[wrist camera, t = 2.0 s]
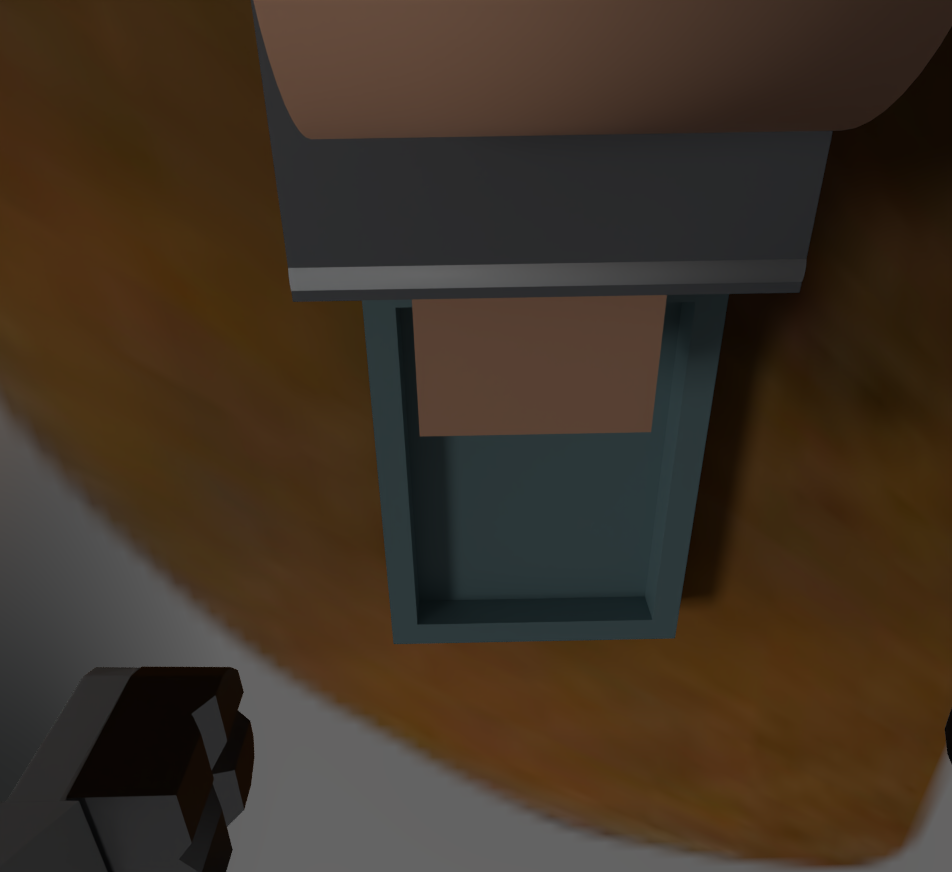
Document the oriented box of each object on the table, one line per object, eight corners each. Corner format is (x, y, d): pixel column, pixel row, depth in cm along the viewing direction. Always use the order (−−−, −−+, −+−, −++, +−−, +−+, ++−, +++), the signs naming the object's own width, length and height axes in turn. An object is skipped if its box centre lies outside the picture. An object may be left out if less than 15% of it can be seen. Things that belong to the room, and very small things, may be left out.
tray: (367, 259, 19) (359, 276, 18) (714, 253, 19) (733, 269, 18) (397, 611, 25) (393, 643, 24) (663, 606, 25) (674, 638, 24)
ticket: (400, -54, 13) (391, -67, 12) (677, -58, 13) (709, -71, 12) (424, 395, 18) (419, 436, 16) (632, 392, 18) (651, 431, 16)
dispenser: (303, -188, 15) (-27, -631, 5) (753, -194, 15) (1343, -646, 5) (344, 221, 19) (208, 443, 9) (700, 216, 19) (965, 429, 9)
